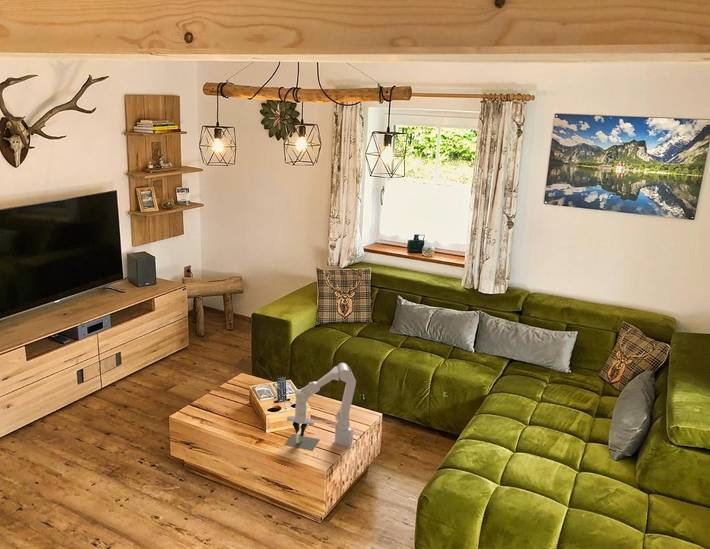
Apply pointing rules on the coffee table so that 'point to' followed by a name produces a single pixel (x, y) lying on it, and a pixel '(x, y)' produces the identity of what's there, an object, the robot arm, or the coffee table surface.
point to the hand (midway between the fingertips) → (300, 434)
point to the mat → (302, 442)
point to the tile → (299, 437)
